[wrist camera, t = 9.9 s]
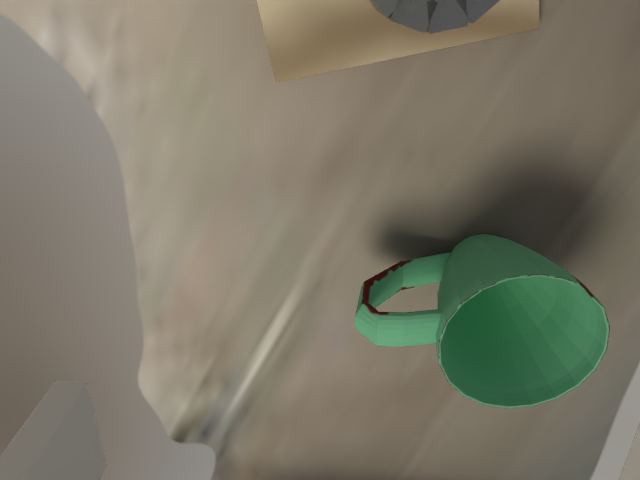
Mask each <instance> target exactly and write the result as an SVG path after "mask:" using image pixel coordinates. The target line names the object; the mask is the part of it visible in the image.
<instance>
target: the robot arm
mask: <svg viewBox="0 0 640 480" xmlns="http://www.w3.org/2000/svg"><path fill="white" fill-rule="evenodd" d="M106 466H107V464H106V460H105V455H104V451H103V447H102V443H101V438H100V434H99V430H98V426H97V421H96V417H95V413H94V409H93V404H92V400H91V396H90V391H89V387H88V383H87V382H74V381H55V382H54V383H53V385H52V386H51V387H50V389H49V390H48V392H47V393H46V394H45V396H44V397H43V399H42V400H41V401H40V403H39V404H38V405H37V407H36V408H35V409H34V411H33V412H32V414H31V415H30V416H29V418H28V419H27V421H26V422H25V423H24V424H23V426H22V427H21V429H20V430H19V431H18V433H17V434H16V436H15V437H14V438H13V440H12V441H11V442H10V444H9V445H8V446H7V448H6V449H5V451H4V452H3V453H2V455H1V456H0V480H100V478H101V476H102V474H103V472H104V470H105V468H106ZM619 480H640V424H639V427H638V429H637V432H636V435H635V437H634V440H633V443H632V445H631V448H630V451H629V454H628V456H627V459H626V461H625V464H624V467H623V469H622V472H621V475H620V477H619Z"/></svg>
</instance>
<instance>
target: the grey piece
mask: <svg viewBox="0 0 640 480" xmlns="http://www.w3.org/2000/svg"><path fill="white" fill-rule="evenodd" d="M369 1H370V3H371V4H372V5H373V7H374V8H375V9H376V10H377V11H378V12H379V13H381V14H382V15H383V16H385V17H386V18H387V19H389V20H390V21H393V22H395V23H398V24H401V25H403V26H406V27H409V28H411V29H414V30H417V31H419V32H422V33H426V32H427V33H429V34H432V33H437V32H442V31H447V30H451V29H456V28H461V27H466V26H468V23H472V24H473V23H474V22H475V21H476V20H478V19H479V18H480V17H481V16H482V15H483V14H485V13H486V12H487V11H488V10H489V9H491V8H492V7H493V6H494V5H495V4H496V3H498V2H499V1H500V0H369Z"/></svg>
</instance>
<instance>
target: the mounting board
mask: <svg viewBox="0 0 640 480" xmlns="http://www.w3.org/2000/svg"><path fill="white" fill-rule="evenodd" d="M257 3H258V8H259V12H260V16H261V20H262V25H263V29H264V33H265V37H266V42H267V46H268V50H269V54H270V59H271V63H272V67H273V72H274V76H275V80H276V83H278V82H283V81H288V80H293V79H298V78H302V77H307V76H312V75H317V74H322V73H327V72H331V71H336V70H341V69H346V68H351V67H356V66H360V65H365V64H370V63H375V62H380V61H385V60H390V59H394V58H399V57H404V56H409V55H414V54H419V53H423V52H428V51H433V50H438V49H443V48H448V47H452V46H457V45H462V44H467V43H472V42H477V41H481V40H486V39H491V38H496V37H501V36H506V35H510V34H515V33H520V32H525V31H530V30H535V29H539V0H500V1H499V2H498V3H496V4H495V5H494V6H493V7H492V8H491V9H489V10H488V11H487V12H486V13H485V14H483V15H482V16H481V17H480V18H479V19H478V20H476V21H475V22H474V23H473V24H472V23H468V26H466V27H461V28H456V29H451V30H447V31H442V32H437V33H432V34H429V33H427V32H426V33H422V32H419V31H417V30H414V29H411V28H409V27H406V26H403V25H401V24H398V23H395V22H393V21H390V20H389V19H387V18H386V17H385V16H383V15H382V14H381V13H379V12H378V11H377V10H376V9H375V8H374V7H373V5H372V4H371V3H370V1H369V0H257Z"/></svg>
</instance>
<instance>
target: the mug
mask: <svg viewBox="0 0 640 480" xmlns="http://www.w3.org/2000/svg"><path fill="white" fill-rule="evenodd" d="M436 282H440V286H439V291H438V309H437V310H426V311H416V312H405V313H399V312H378V311H377V310H376V309H375V308H376V307H377V306H379V305H380V304H381V303H383V302H384V301H386V300H387V299H388V298H390V297H391V296H393V295H394V294H395V293H397V292H398V291H399V290H403V289H408V288H413V287H417V286H422V285H427V284H431V283H436ZM354 322H355V327H356V330H357V331H358V332H359V333H361V334H362V335H363V336H365V337H366V338H367V339H369V340H370V341H371V342H372V343H374V344H375V345H376V346H394V347H403V346H414V345H424V344H434V343H436V351H437V358H438V362H439V365H440V367H441V369H442V371H443V373H444V375H445V377H446V379H447V381H448V382H449V383H450V384H451V385H452V386H453V387H454V388H455V389H456V390H457V391H459V392H460V393H461V394H462V395H463V396H465V397H467V398H470V399H472V400H474V401H476V402H479V403H481V404H483V405H489V406H496V407H502V408H516V407H528V406H534V405H538V404H541V403H544V402H547V401H550V400H554V399H557V398H558V397H560V396H562V395H564V394H565V393H567V392H569V391H570V390H572V389H574V388H576V387H577V386H579V385H580V384H581V383H582V382H583V381H584V380H585V379H586V378H587V377H588V376H589V375H590V374H591V373H592V372H593V371H594V370H595V369H596V368H597V366H598V364H599V362H600V361H601V359H602V357H603V355H604V353H605V351H606V350H607V345H608V338H609V331H610V326H609V322H608V319H607V315H606V312H605V309H604V306H603V305H602V304H601V303H600V301H599V300H598V299H597V298H596V297H595V296H594V295H593V294H592V293H591V292H590V291H589V290H588V289H587V288H586V286H584V285H583V284H582V283H581V282H580V281H579V280H578V279H576V278H575V277H574V276H573V275H571V274H570V273H568V272H567V271H565V270H564V269H563V268H561V267H560V266H558V265H557V264H555V263H554V262H552V261H550V260H549V259H547V258H546V257H544V256H542V255H541V254H539V253H537V252H535V251H533V250H531V249H529V248H527V247H525V246H523V245H521V244H519V243H516V242H514V241H512V240H509V239H506V238H502V237H498V236H495V235H489V234H479V235H473V236H471V237H468V238H465V239H464V240H462V241H461V242H460V243H458V244H457V245H456V246H455V248H454V249H453V250H452V252H448V253H443V254H437V255H432V256H426V257H421V258H415V259H410V260H405V261H401V262H399V263H397V264H395V265H393V266H392V267H390V268H388V269H386V270H384V271H383V272H381V273H379V274H377V275H375V276H374V277H372V278H370V279H368V280H366V281H365V282H364V283H363V285H362V287H361V291H360V296H359V301H358V305H357V310H356V315H355V321H354Z"/></svg>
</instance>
